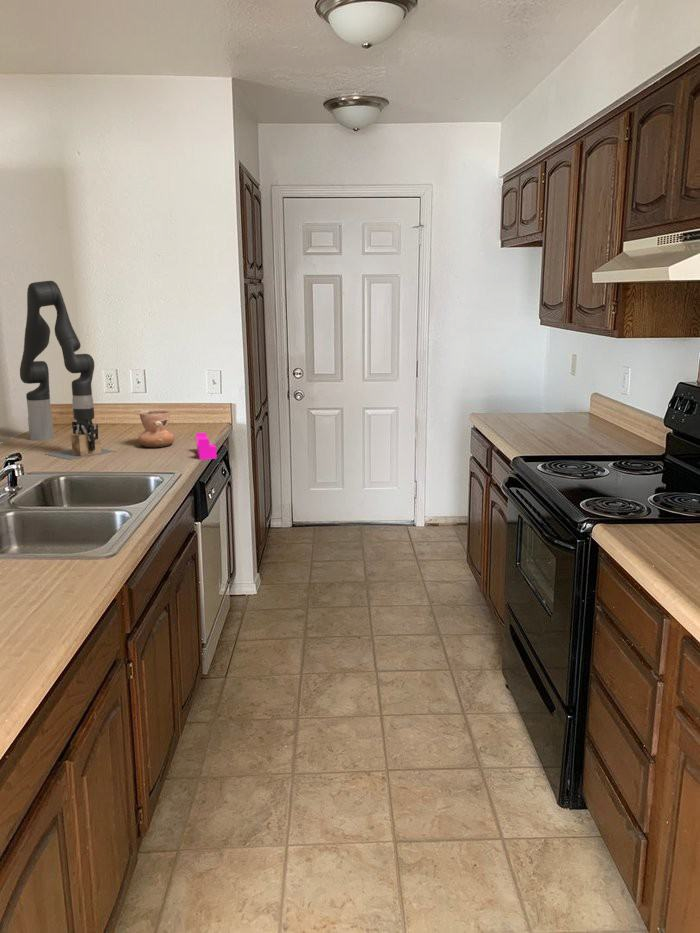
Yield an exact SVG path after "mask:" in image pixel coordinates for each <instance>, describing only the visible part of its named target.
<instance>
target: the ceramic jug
mask: <svg viewBox="0 0 700 933" xmlns="http://www.w3.org/2000/svg"><path fill="white" fill-rule="evenodd" d="M138 414H139V419H140V421H141V424H142V426H143V428H144V431H143V432H142V433H141V434H139V436H138V438H137V441H138V443H139V444H140V445H141V446H142V447H144V448H148V449H149V448H150V449H151V448H152V449H153V448H154V449H156V448H158V447H159V448H165V447H168V446H170V445H172V444H173V443H174V442H175V439H176V438H175V435H174V434H173V433H172V432H171V431H169V430H167V427H168V425H169V422H170V418H171V411H169V410H161V409H157V410H156V409H149V410H143V411H142V410H141V411H140V412H138Z"/></svg>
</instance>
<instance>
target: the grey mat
mask: <svg viewBox="0 0 700 933" xmlns="http://www.w3.org/2000/svg"><path fill="white" fill-rule="evenodd" d="M114 452H116V450H111V449H106V448H101V453H98V454H92V455H87V456H81V457H80V456H76V455H73V453H72V449H67V450H61V451H57V452H56V451H55V452H50V453H44V455H46V456H50V457H56V458H60V459H65V460H69V461H71V460H76V459H80V458H86V457H87V458H88V457H94V456H96V455H102V454H103V455H104V454H107V453H114Z"/></svg>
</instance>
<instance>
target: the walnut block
mask: <svg viewBox="0 0 700 933" xmlns="http://www.w3.org/2000/svg"><path fill="white" fill-rule="evenodd" d="M90 433H91V432H90ZM94 436H95V434H94ZM70 438H71V439H70V440H71V441H70V442H71V450H72V453H73V455H76V456H80V457H81V456H87V455H92V454H98V453H101V449H102V444H101V442H102V441H101V433H100V431H98V439H96V440H95V450H94V451H89V443H88V441H89V440H88V438H87V436H86V435H85V433H76V434H73V433H71V434H70ZM90 438H91V435H90ZM98 455H99V454H98ZM87 457H88V456H87Z"/></svg>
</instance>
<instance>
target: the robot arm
mask: <svg viewBox="0 0 700 933" xmlns="http://www.w3.org/2000/svg"><path fill="white" fill-rule="evenodd" d="M26 306H27V308H26V311H27V314H26V321H25V322H26V323H25V330H24V337H23V338H24V341H23V342H24V343H23V353H22V356H21V362H20V366H19V377H20V381H21V382H22V383H24V384H29V385H30V384H39V385H38V387H36V388H35V389H33V390H31V391H28V392H27V393H26V396H25V397H26V404H27V405H26V407H27V416H28V417H27V423H28V432H29V439H30V440H31V441H34V442H35V441H37V442H38V441H49V440H52V439H54V429H53V417H52V406H51V396H50V376H49V375H50V374H49V367H48V364H47V362H46V360H45V361H44V360H36V358H37V357H38V356H40V355H41V354H42V353H43V352H44V351H45V349H46V348H48V345H49V343H50V336H51V329H50V326H49V324H48V323H47V321H46V320H45V319H44V318H43V316H42V315H41V314H40V311H41V310H40V309H41V308H42V307H48V306H54V309H55V311H56V319H55V324H54V334H55V338H56V340H57V342H58V344H59V346H60V348H61V351H62V357H63V362H64V363H63V364H64V367H65V369H66V370H67V371H68V372H69V373H71V374H80V375H79V377H78V378H76V379H73V380H72V381H71V391H72V392H71V393H72V394H71V396H72V400H71V401H72V413H73V419H74V420H76V421H72V422H71V428H72V434H77V433H85V435H86V436H87V438H88V440H89V441H88V443H89V451H94V450H95V440H96V439H98V432H99V425H98V424H97V423H95V424H94V423H93V420H94V419H95V407H94V398H93V391H92V390H93V389H92V381H93V377H94V372H95V361H94V358H93V357H92V355H91V354H89V353H78V354H76V352H77V351H79V350H80V348H81V342H80V340H79V338H78V336H77V333H76V332H75V329H74V328H73V326H72V325H73V324H72V323H71V320H70V316H69V313H68V310H67V307H66V304H65V300H64V298H63V294H62V291H61V289H60V287H59V285H58V284H57V282H55V281H54V280H44V281H35V282H31V283H29V284H28V287H27V294H26ZM35 360H36V361H35ZM90 432H91V433H90ZM94 434H95V436H94ZM90 435H91V438H90Z"/></svg>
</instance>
